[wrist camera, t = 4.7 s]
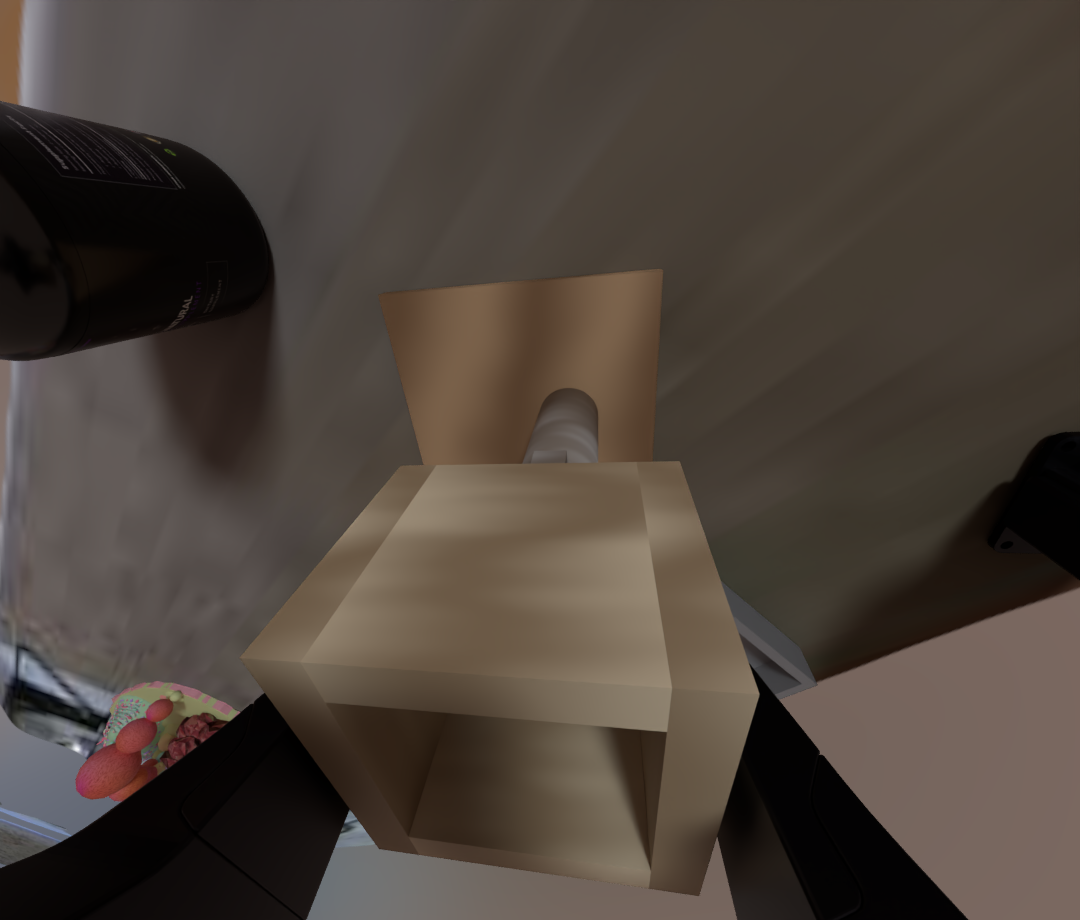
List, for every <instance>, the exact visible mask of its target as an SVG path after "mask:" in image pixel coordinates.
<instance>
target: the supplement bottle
mask: <svg viewBox="0 0 1080 920" xmlns="http://www.w3.org/2000/svg"><path fill="white" fill-rule="evenodd" d="M268 268H269V260H268V250H267V244H266V240H265V236H264V233H263V230H262V227H261V225H260V222H259V220H258V218H257V216H256V214H255V212H254V210H253V208H252V207H251V205H250V203H249V202H248V200H247V199H246V197H245V195H244V194H243V193H242V191H241V190H240V189H239V187H238V186H237V185H236V184H235V183H234V182H233V180H232V179H231V178H230V177H229V176H228V175H227V174H226V173H225V172H224V171H223V170H222V169H220V168H219V167H218V166H217V165H216V164H215V163H213V162H212V161H211V160H209V159H208V158H207V157H205V156H204V155H202V154H200V153H199V152H197V151H195V150H193V149H192V148H190V147H188V146H185V145H183V144H181V143H178V142H174V141H171V140H168V139H164V138H160V137H156V136H152V135H148V134H144V133H140V132H136V131H131V130H127V129H122V128H118V127H113V126H109V125H104V124H100V123H96V122H91V121H87V120H82V119H78V118H73V117H69V116H64V115H60V114H56V113H51V112H47V111H42V110H38V109H33V108H29V107H24V106H20V105H16V104H11V103H7V102H2V101H0V359H2V360H11V361H30V360H38V359H44V358H49V357H55V356H60V355H64V354H69V353H73V352H78V351H82V350H86V349H91V348H95V347H100V346H104V345H108V344H113V343H117V342H122V341H126V340H130V339H135V338H139V337H144V336H148V335H152V334H157V333H161V332H165V331H170V330H174V329H179V328H183V327H187V326H192V325H196V324H201V323H205V322H209V321H214V320H218V319H221V318H225V317H229V316H233V315H236V314H239V313H241V312H243V311H245V310H247V309H248V308H249V307H251V306H252V305H253V304H254V303H255V302H256V301H257V300H258V298H259V297H260V295H261V294H262V292H263V290H264V287H265V284H266V281H267V277H268Z"/></svg>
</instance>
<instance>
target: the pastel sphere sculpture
mask: <svg viewBox="0 0 1080 920" xmlns="http://www.w3.org/2000/svg"><path fill="white" fill-rule="evenodd" d="M112 701H113V704H112V705H111V706H112V707H111V708H110V712H111V714H112V717H111V718H110V719H109V721H108V723H107V726H106V729H105V730H104V737H103V738H102V741H101V742H99V743H102V742H103V740H104V741H105V740H106V741H105V742H104V745H103V748H102V749H100V750H99V751H97V752H96V753H95V754H93V755H92V756H91V757H89V758H88V760H87V761H86V762H85V763H84V764H83V766H82V767H81V768H80V770H79V772H78V775H77V778H76V790H77V791H78V792H79V793H80V794H81V795H82V796H83V797H85V798H88V799H99V798H105V797H107V796H109V797H110V798H111V799H112V800H114V801H123V800H125V799H126V798H127V797H129V796H130V795H132V794H133V793H134V792H136V791H137V790H138V789H140V788H141V787H143V786H144V785H145V784H147V783H148V782H149V781H151V780H152V779H154V778H155V777H156V776H158V775H159V774H160V773H162V772H163V771H165V770H166V769H167V768H169V767H170V766H171V765H173V764H174V763H176V762H177V761H178V760H180V759H181V758H182V757H184V756H185V755H186V754H188V753H189V752H190V751H192V750H193V749H194V748H196V747H197V746H198V745H200V744H201V743H202V742H204V741H205V740H206V739H208V738H209V737H210V736H211V735H213V734H214V733H215V732H216V731H218V730H219V729H220V728H221V727H223V726H224V725H225V724H227V723H228V722H229V721H230V720H232V719H233V718H234V717H235V716H237V715H238V714H239V713H240V712H239V711H237V710H235V709H233V708H232V707H231V706H229V705H228V704H226V703H225V702H222V701H218V700H216V699H214V698H212V697H211V696H208V695H206V694H203V693H202V692H200V691H199V690H196V689H193V688H189V687H186V686H182V685H179V684H175V683H162V682H158V681H155V682H152V683H141V684H138V685H135V686H134V687H133V688H128V689H125V690H124V691H123V692H121V694H119V695H116V696H115V697H114V698H113V699H112ZM113 718H114V720H112V719H113ZM110 723H112V724H110ZM108 726H109V727H110V726H111V728H110V729H108ZM107 731H108V732H107ZM105 732H106V734H105ZM99 743H98V744H99ZM152 755H153V756H152ZM151 756H152V759H149V760H147V759H148V758H150V757H151ZM144 760H147V761H146V762H145V763H143V765H141V763H142V762H143V761H144Z"/></svg>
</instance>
